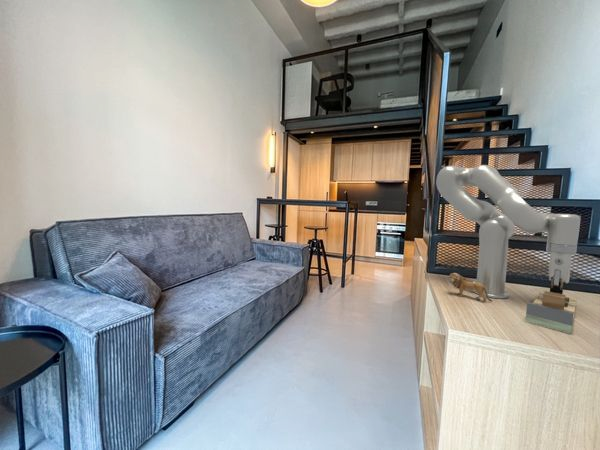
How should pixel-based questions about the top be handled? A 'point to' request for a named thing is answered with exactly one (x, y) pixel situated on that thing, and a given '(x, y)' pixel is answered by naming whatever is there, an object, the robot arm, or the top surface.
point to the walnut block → (553, 300)
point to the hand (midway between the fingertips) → (555, 299)
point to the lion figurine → (468, 286)
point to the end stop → (550, 313)
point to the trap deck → (568, 306)
